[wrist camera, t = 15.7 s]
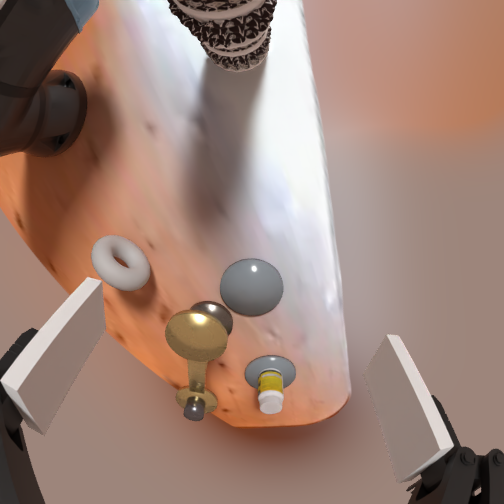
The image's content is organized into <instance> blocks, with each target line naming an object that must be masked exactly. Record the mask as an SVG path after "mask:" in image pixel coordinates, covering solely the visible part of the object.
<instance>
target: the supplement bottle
mask: <svg viewBox="0 0 504 504" xmlns="http://www.w3.org/2000/svg"><path fill="white" fill-rule="evenodd" d="M283 399H284V393H283V377H282V373H281V372H280V371H279V370H277V369H274V368H267V369H264V370H262V371H261V372H260V373H259V375H258V401H259V402H260V410H261V411H262V412H263V413H266V414H275V413H278V412H280V411H281V410H282V401H283Z"/></svg>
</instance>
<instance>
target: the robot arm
mask: <svg viewBox="0 0 504 504" xmlns="http://www.w3.org/2000/svg"><path fill="white" fill-rule="evenodd" d="M98 6H99V0H0V157H1V156H4V155H8V154H12V153H16V152H24V153H27V154H31V155H34V156H37V157H49V156H54V155H57V154H60V153H62V152H63V151H65V150H66V149H68V148H69V147H70V146H71V145H72V143H73V142H74V141H75V139H76V138H77V136H78V135H79V133H80V131H81V128H82V126H83V123H84V120H85V116H86V109H87V97H86V91H85V88H84V85H83V83H82V81H81V80H80V79H79V77H78V76H76V75H75V74H74V73H71V72H68V71H64V70H51V69H52V68H53V66H54V65H55V63H56V62H57V60H58V59H59V58H60V56H61V55H62V53H63V52H64V51H65V49H66V48H67V47H68V45H69V44H70V43H71V42H72V40H73V39H74V38H75V37H76V35H77V34H78V33H79V34H80V32H81V31H82V28H83V26H84V25H85V24H86V23H87V21H88V20H89V19H90V18H91V17H92V15H93V14H94V13H95V12H96V10H97V9H98ZM50 70H51V71H50ZM105 330H106V323H105V313H104V302H103V287H102V281H100V280H97V279H93V278H89V277H87V278H86V280H85V281H84V282H83V283H82V284H81V285H80V286H79V287H78V288H77V289H76V290H75V291H74V292H73V293H72V294H71V295H70V296H69V298H68V299H67V300H66V301H65V302H64V303H63V304H62V305H61V306H60V307H59V308H58V310H57V311H56V312H55V313H54V314H53V315H52V316H51V318H50V319H49V320H48V321H47V322H46V323H45V324H44V326H43V327H42V328H41V329H40V330H39V331H38V330H36V329H34V328H31V329H29V330H28V331H26V332H25V333H22V334H21V336H20V337H19V338H18V339H17V340H16V341H15V344H13V345H12V346H11V347H10V349H9V351H7V352H6V353H5V355H4V356H3V357H2V358H1V360H0V504H45V502H44V499H43V496H42V494H41V491H40V489H39V486H38V483H37V480H36V477H35V474H34V471H33V468H32V465H31V462H30V458H29V455H28V451H27V447H26V443H25V440H24V435H23V431H22V428H21V425H20V424H21V422H22V420H23V419H24V421H25V422H26V424H27V425H28V427H30V428H31V429H33V430H35V431H37V432H39V433H40V434H42V435H44V436H45V434H46V432H47V430H48V428H49V426H50V424H51V422H52V420H53V418H54V417H55V415H56V413H57V411H58V409H59V407H60V405H61V403H62V401H63V400H64V398H65V396H66V394H67V393H68V391H69V389H70V387H71V386H72V384H73V382H74V380H75V379H76V377H77V375H78V373H79V372H80V370H81V368H82V367H83V365H84V363H85V362H86V360H87V358H88V357H89V355H90V353H91V352H92V350H93V349H94V347H95V345H96V344H97V342H98V341H99V339H100V337H101V336H102V334H103V333H104V331H105ZM363 377H364V379H365V382H366V385H367V388H368V391H369V394H370V396H371V400H372V403H373V406H374V408H375V412H376V415H377V418H378V421H379V424H380V427H381V430H382V433H383V436H384V440H385V443H386V446H387V450H388V453H389V457H390V460H391V464H392V467H393V471H394V474H395V478H396V482H397V483H402V482H406V481H410V480H412V479H414V478H415V477H416V476H418V475H419V474H421V477H422V478H421V479H420V480H418V481H417V482H416V483H414V484H413V485H411V486H410V487H408V489H407V490H406V491H410V490H411V489H413V488H414V487H415V489H414V490H413V491H412V492H411V493H412V496H411V498H410V500H409V503H408V504H504V454H503V452H502V451H500V450H499V449H493V450H491V451H490V452H489V453H488V454H487V455H485V456H481V455H476V454H475V453H474V452H473V450H471V449H470V448H468V447H461V446H460V443H459V441H458V439H457V436H456V434H455V432H454V430H453V428H452V425H451V423H450V421H448V417H447V415H446V414H445V411H444V409H443V407H442V405H441V403H440V402H439V401H438V400H437V398H436V397H434V395H430V393H429V391H428V389H427V387H426V385H425V383H424V381H423V379H422V377H421V375H420V374H419V372H418V370H417V368H416V366H415V364H414V362H413V360H412V359H411V357H410V355H409V353H408V351H407V350H406V348H405V346H404V344H403V342H402V341H401V339H400V337H399V336H398V335H388V334H387V335H386V336H385V338H384V339H383V341H382V343H381V345H380V347H379V348H378V350H377V352H376V354H375V355H374V357H373V358H372V360H371V362H370V363H369V365H368V366H367V368H366V370H365V371H364V373H363ZM480 487H481V493H479V494H478V495H476V496H475V494H474V491H476V490H477V489H479V488H480Z"/></svg>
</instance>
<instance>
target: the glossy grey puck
mask: <svg viewBox="0 0 504 504" xmlns="http://www.w3.org/2000/svg"><path fill="white" fill-rule="evenodd" d="M220 292H221V296H222V298H223V300H224V302H225V303H226V304H227V305H228V306H229V307H230V308H231V309H232V310H234V311H236V312H238V313H241V314H244V315H260V314H264V313H266V312H268V311H270V310H272V309H273V308H274V307H275V306H276V305H277V304H278V303H279V301H280V300H281V297H282V294H283V282H282V278H281V276H280V274H279V272H278V271H277V270H276V269H275V268H274V267H273V266H272V265H271V264H269V263H267V262H265V261H262V260H259V259H244V260H240V261H237V262H235V263H234V264H232V265H231V266H229V267H228V268H227V270H226V271H225V272H224V274H223V276H222V279H221V283H220Z"/></svg>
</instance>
